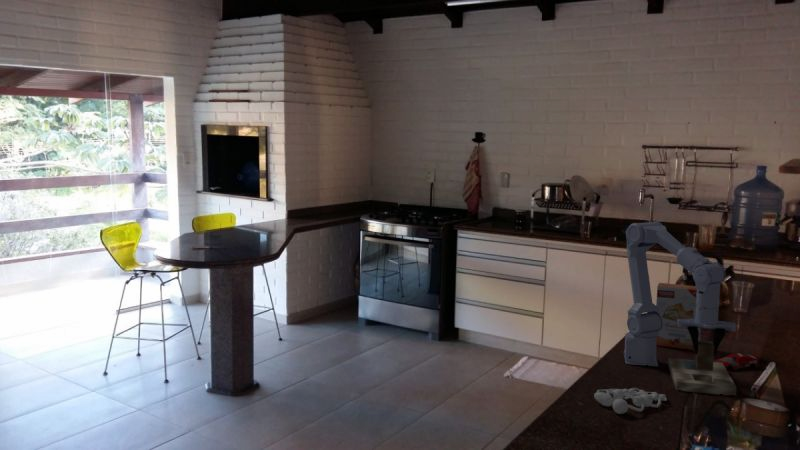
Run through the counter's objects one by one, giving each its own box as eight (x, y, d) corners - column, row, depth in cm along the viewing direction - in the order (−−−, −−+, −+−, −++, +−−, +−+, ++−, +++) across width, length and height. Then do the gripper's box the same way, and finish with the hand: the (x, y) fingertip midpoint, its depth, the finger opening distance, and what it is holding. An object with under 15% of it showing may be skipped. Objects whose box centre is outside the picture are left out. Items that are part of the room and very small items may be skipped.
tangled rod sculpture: (640, 392, 179) (640, 378, 179) (681, 408, 166) (681, 392, 165) (584, 401, 172) (584, 386, 171) (622, 418, 158) (622, 402, 158)
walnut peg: (697, 368, 177) (698, 344, 176) (694, 364, 181) (696, 340, 180) (712, 370, 176) (714, 345, 175) (710, 365, 180) (711, 341, 179)
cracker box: (653, 346, 215) (656, 285, 212) (655, 341, 220) (658, 282, 217) (699, 352, 208) (702, 289, 205) (700, 346, 213) (703, 285, 211)
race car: (722, 372, 191) (723, 359, 190) (711, 366, 196) (711, 353, 196) (762, 369, 193) (763, 356, 192) (749, 363, 198) (750, 350, 198)
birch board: (676, 390, 177) (676, 381, 176) (668, 366, 196) (668, 357, 195) (736, 396, 172) (736, 386, 172) (721, 370, 191) (722, 362, 191)
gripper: (680, 308, 174) (678, 355, 176) (739, 311, 170) (736, 360, 172) (677, 302, 181) (675, 347, 183) (733, 305, 177) (730, 352, 179)
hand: (704, 353), depth 178 cm, fingers closed on walnut peg, 4 cm apart
